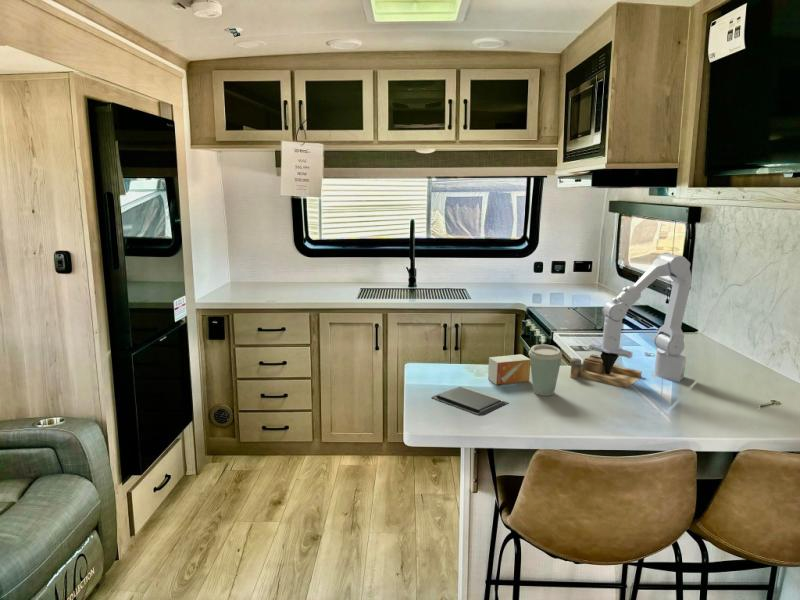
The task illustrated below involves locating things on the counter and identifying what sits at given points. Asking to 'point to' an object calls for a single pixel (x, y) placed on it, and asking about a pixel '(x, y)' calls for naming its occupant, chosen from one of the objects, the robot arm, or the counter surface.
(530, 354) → the disposable coffee cup
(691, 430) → the counter surface
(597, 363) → the crate
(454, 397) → the dark grey rectangular slab
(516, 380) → the small box
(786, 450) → the counter surface
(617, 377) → the wooden base
